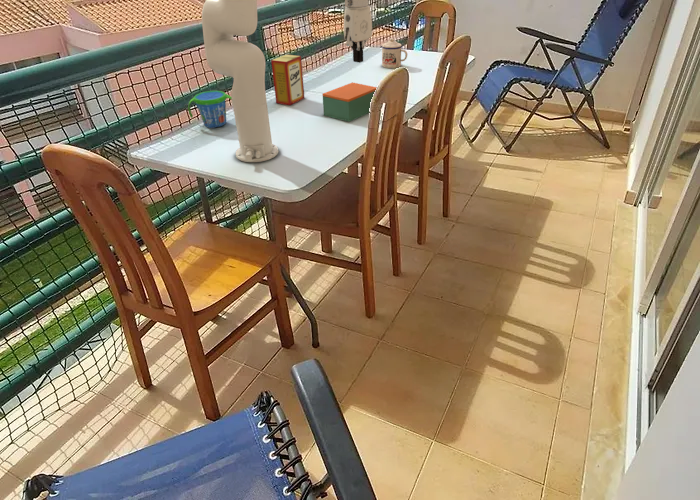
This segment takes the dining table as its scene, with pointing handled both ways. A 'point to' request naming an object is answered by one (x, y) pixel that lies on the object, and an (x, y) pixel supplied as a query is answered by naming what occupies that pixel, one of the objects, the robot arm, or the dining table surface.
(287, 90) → the baking soda box
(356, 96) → the lid
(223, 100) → the snack cup
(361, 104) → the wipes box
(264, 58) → the robot arm
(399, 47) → the teacup with lid
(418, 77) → the dining table surface
